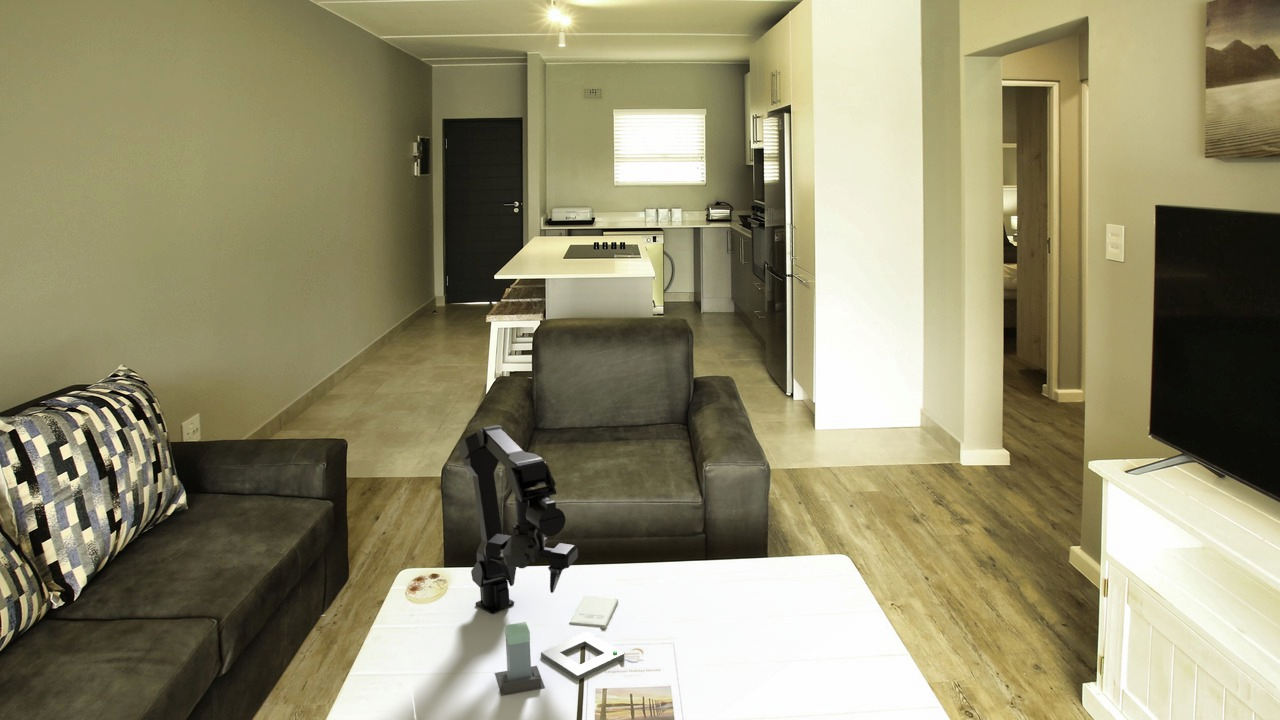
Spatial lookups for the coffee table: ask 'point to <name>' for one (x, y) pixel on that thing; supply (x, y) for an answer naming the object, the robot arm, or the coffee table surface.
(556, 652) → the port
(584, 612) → the external hard drive
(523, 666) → the plug
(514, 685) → the corner stop plate
